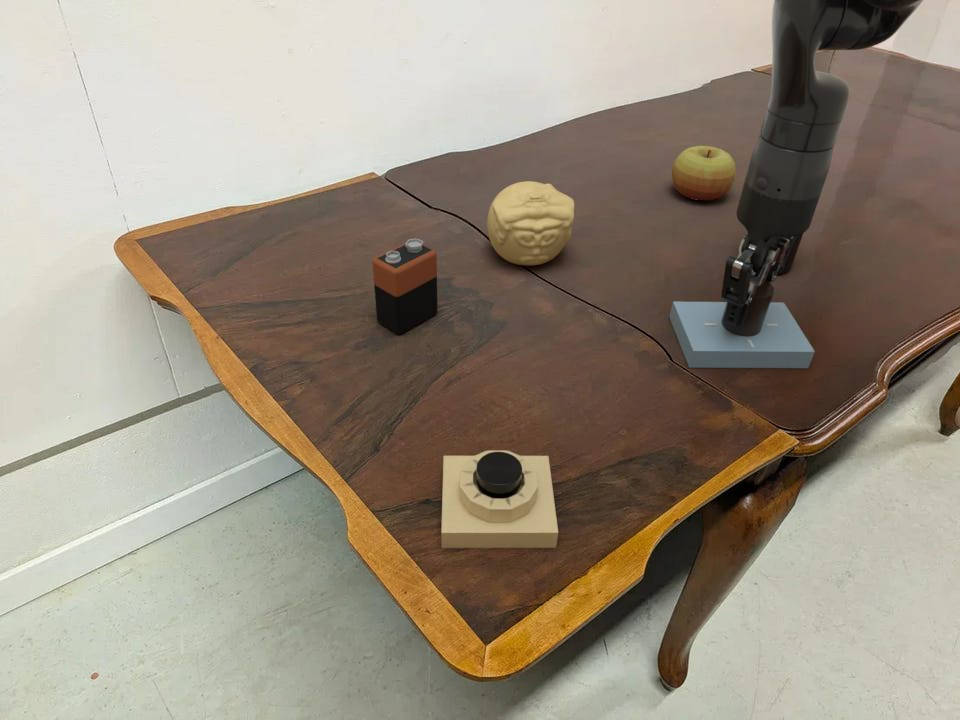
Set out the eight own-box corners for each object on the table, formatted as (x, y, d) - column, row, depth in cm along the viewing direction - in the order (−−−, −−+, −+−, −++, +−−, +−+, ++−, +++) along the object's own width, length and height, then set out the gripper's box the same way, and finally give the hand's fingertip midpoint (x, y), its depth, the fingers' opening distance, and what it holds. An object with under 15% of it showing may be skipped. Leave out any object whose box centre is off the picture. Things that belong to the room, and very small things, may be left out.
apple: (692, 212, 113) (703, 164, 108) (656, 187, 120) (665, 141, 115) (741, 202, 116) (753, 155, 111) (703, 178, 123) (713, 133, 118)
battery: (439, 314, 89) (438, 243, 83) (399, 337, 85) (395, 265, 79) (415, 300, 91) (412, 231, 85) (375, 322, 87) (369, 251, 81)
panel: (778, 318, 90) (784, 301, 88) (808, 368, 82) (815, 350, 81) (669, 317, 90) (673, 300, 88) (688, 367, 82) (693, 349, 80)
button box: (546, 471, 69) (550, 442, 66) (556, 548, 62) (560, 519, 59) (443, 471, 69) (443, 441, 66) (441, 548, 62) (441, 519, 59)
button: (519, 464, 65) (520, 451, 63) (522, 498, 61) (523, 485, 60) (475, 464, 64) (476, 451, 63) (476, 498, 61) (476, 485, 60)
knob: (731, 309, 87) (744, 268, 83) (767, 324, 85) (781, 283, 81) (714, 325, 84) (726, 284, 81) (750, 341, 82) (764, 299, 78)
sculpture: (494, 278, 96) (497, 206, 89) (480, 235, 105) (482, 166, 98) (576, 273, 97) (585, 201, 91) (555, 231, 107) (562, 163, 100)
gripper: (790, 216, 67) (745, 357, 78) (846, 170, 75) (798, 303, 86) (717, 192, 71) (684, 329, 82) (778, 151, 79) (741, 280, 90)
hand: (743, 315), depth 84 cm, fingers closed on knob, 4 cm apart
